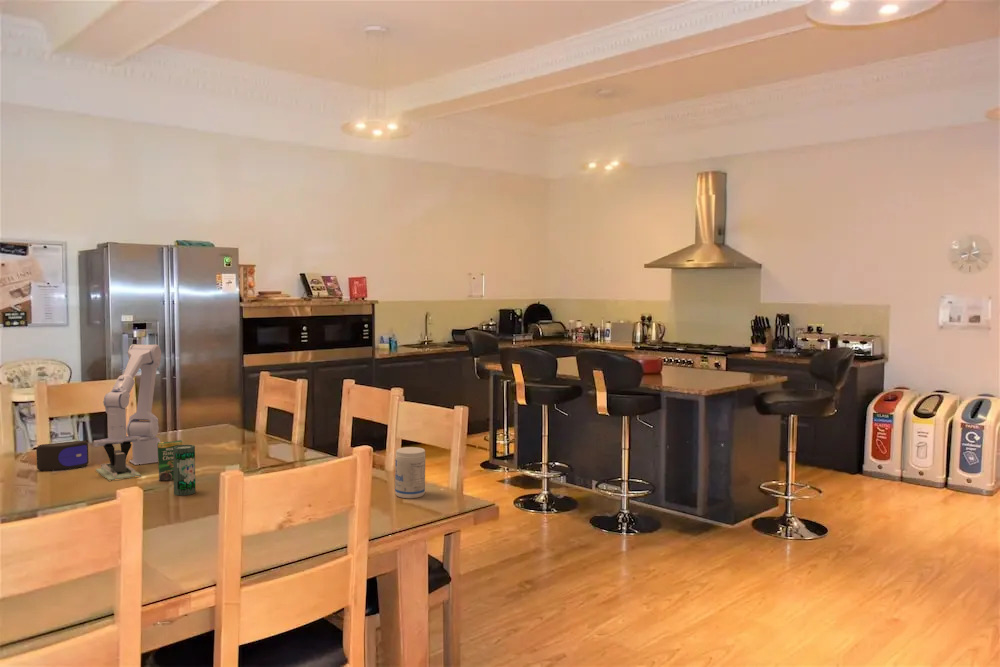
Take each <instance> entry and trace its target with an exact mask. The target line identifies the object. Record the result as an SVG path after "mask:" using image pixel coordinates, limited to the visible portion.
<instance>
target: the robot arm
mask: <svg viewBox="0 0 1000 667" xmlns="http://www.w3.org/2000/svg"><path fill="white" fill-rule="evenodd" d="M127 355H128V356H127V357H128V361H127V365H126V367H125V370H124V371H123V374H121V375H120V374H119V376H118V377H117V379H116V381H115V383H114V384H113V387H112V388H111V390H110V392H107V393H106V394H105V395H104V397H103V403H102V404H103V406H104V408H105V413H106V414H107V416H106V417H107V438H102V439H96V440H93V447H95V448H97V447H98V448H99V447H103V449H104V450H105V452H106V454H107V457H108V459H109V463H111V465H112V466H114V450H115V446H114V445H119V444H120V451H122V452H124V453H125V454H126V458H127V456H128V454H129V452H130V450H131V448H132V459H129V462H130V463H131V464H133V465H134V466H139V464H140V465H145V464H154V463H158V447H157V443H159V442H161V440H160V437H158V436H157V435H158V434H159V431H160V430H159V429H160V428H159V427H160V426H159V418H158V417H157V416H156V415H155V414H154V413H153V411H152V410H153V402H154V394H155V393H154V392H155V386H156V385H155V384H156V377H157V376H156V375H157V369H158V368H160V366H161V358H162V350H161V348H160V345H158V344H157V343H155V344H134V343H132V344H131V345H130V346H129V348H128V351H127ZM139 371H141V372H140V381H139V390H138V396H137V406H136V412H134V413H133V414H132V415H131V416H129V418H128V419H129V420H128V422H127V416H126V413H127V411H126V410H127V409H126V408H127V407H128V406H129V404H130V397H131V394H130V393H131V391H132V389H133V388H134V386H135V383H136V381H135V376H136V375H137V373H138V372H139Z"/></svg>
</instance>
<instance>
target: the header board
mask: <svg viewBox="0 0 1000 667" xmlns="http://www.w3.org/2000/svg"><path fill="white" fill-rule="evenodd" d="M96 471H97V472H96ZM95 472H96V473H98V474H99V473H100V474H101V475H100V474H99V475H100V476H101V477H103V476H104V477H105V478H107V479H108V480H115V479H122V480H124V479H123V478H129V479H131V478H130V477H135V476H141V477H142V475H141V473H139V472H138V471H136V469H134V468H133V467H131V466H130V465H129V464H127V463H126V471H121V472H116V471H114V470H113V469H112V468H110V462H108V463H101V464H100V468H96V469H95ZM104 477H103V478H104ZM105 478H104V479H105ZM107 479H106V480H107ZM108 480H107V481H108Z"/></svg>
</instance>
